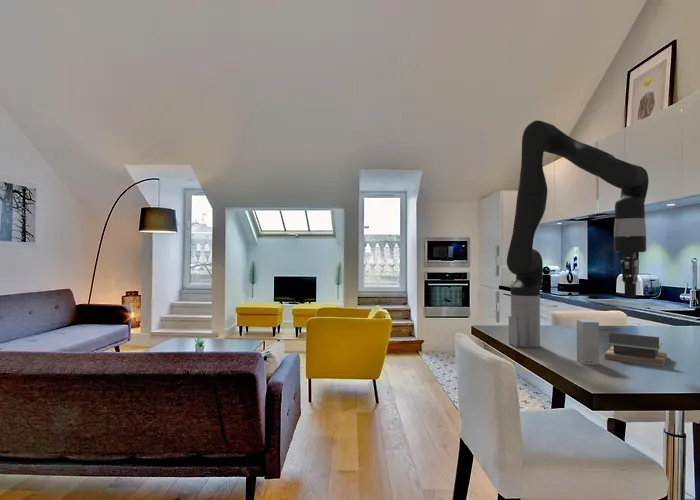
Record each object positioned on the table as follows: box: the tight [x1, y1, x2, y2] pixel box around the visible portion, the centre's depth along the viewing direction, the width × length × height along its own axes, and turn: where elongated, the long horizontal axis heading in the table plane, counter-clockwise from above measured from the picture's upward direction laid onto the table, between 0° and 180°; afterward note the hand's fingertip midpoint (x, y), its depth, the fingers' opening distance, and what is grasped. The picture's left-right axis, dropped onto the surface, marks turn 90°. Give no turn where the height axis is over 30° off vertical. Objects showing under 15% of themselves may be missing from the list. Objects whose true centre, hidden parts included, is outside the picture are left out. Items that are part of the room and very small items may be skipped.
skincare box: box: [576, 318, 600, 366], centre depth 120 cm, size 6×4×12 cm
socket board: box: [604, 345, 668, 367], centre depth 126 cm, size 14×14×4 cm
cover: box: [608, 332, 663, 351], centre depth 126 cm, size 12×12×4 cm
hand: (630, 296), depth 118 cm, fingers open, 3 cm apart
